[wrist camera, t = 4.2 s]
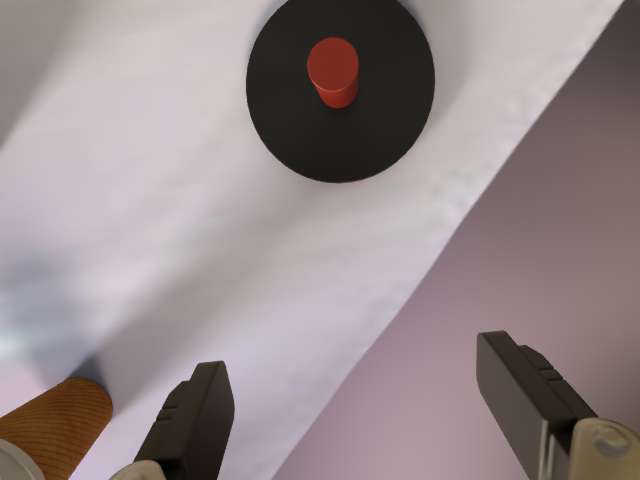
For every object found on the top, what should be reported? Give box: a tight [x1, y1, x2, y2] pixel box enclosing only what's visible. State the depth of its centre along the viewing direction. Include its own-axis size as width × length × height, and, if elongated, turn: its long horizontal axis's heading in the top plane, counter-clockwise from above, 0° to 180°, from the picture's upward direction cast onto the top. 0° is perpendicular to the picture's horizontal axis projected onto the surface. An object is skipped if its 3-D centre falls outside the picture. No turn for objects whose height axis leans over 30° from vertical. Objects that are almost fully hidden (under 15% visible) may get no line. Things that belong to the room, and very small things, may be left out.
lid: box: [246, 0, 435, 183], centre depth 26 cm, size 15×15×9 cm
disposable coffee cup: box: [0, 377, 112, 480], centre depth 33 cm, size 10×10×12 cm
